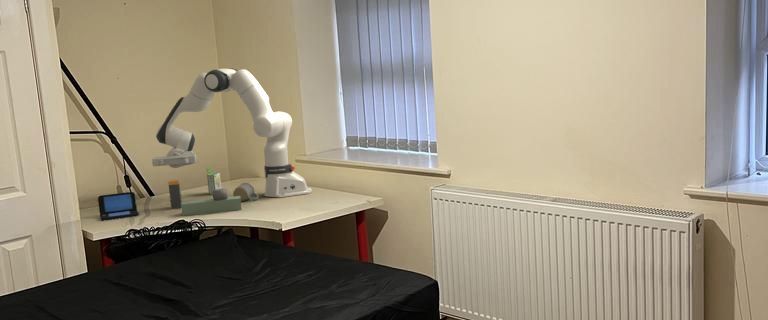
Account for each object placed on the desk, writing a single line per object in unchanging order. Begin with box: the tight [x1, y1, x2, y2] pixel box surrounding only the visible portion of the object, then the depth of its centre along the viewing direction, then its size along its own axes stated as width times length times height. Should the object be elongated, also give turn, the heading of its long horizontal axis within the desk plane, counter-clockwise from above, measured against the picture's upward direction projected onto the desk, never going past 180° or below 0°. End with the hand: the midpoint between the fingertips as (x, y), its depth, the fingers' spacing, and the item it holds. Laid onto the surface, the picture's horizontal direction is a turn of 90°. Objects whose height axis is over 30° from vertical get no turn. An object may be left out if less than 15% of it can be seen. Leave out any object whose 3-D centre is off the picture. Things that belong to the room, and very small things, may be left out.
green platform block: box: [180, 188, 243, 217], centre depth 313 cm, size 25×12×9 cm, turn 103°
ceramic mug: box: [233, 182, 259, 203], centre depth 330 cm, size 11×8×8 cm
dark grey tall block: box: [168, 179, 183, 210], centre depth 323 cm, size 4×6×13 cm
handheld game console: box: [97, 191, 140, 222], centre depth 313 cm, size 16×13×9 cm
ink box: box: [206, 165, 222, 196], centre depth 352 cm, size 7×4×13 cm, turn 168°
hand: (173, 162), depth 333 cm, fingers open, 8 cm apart
